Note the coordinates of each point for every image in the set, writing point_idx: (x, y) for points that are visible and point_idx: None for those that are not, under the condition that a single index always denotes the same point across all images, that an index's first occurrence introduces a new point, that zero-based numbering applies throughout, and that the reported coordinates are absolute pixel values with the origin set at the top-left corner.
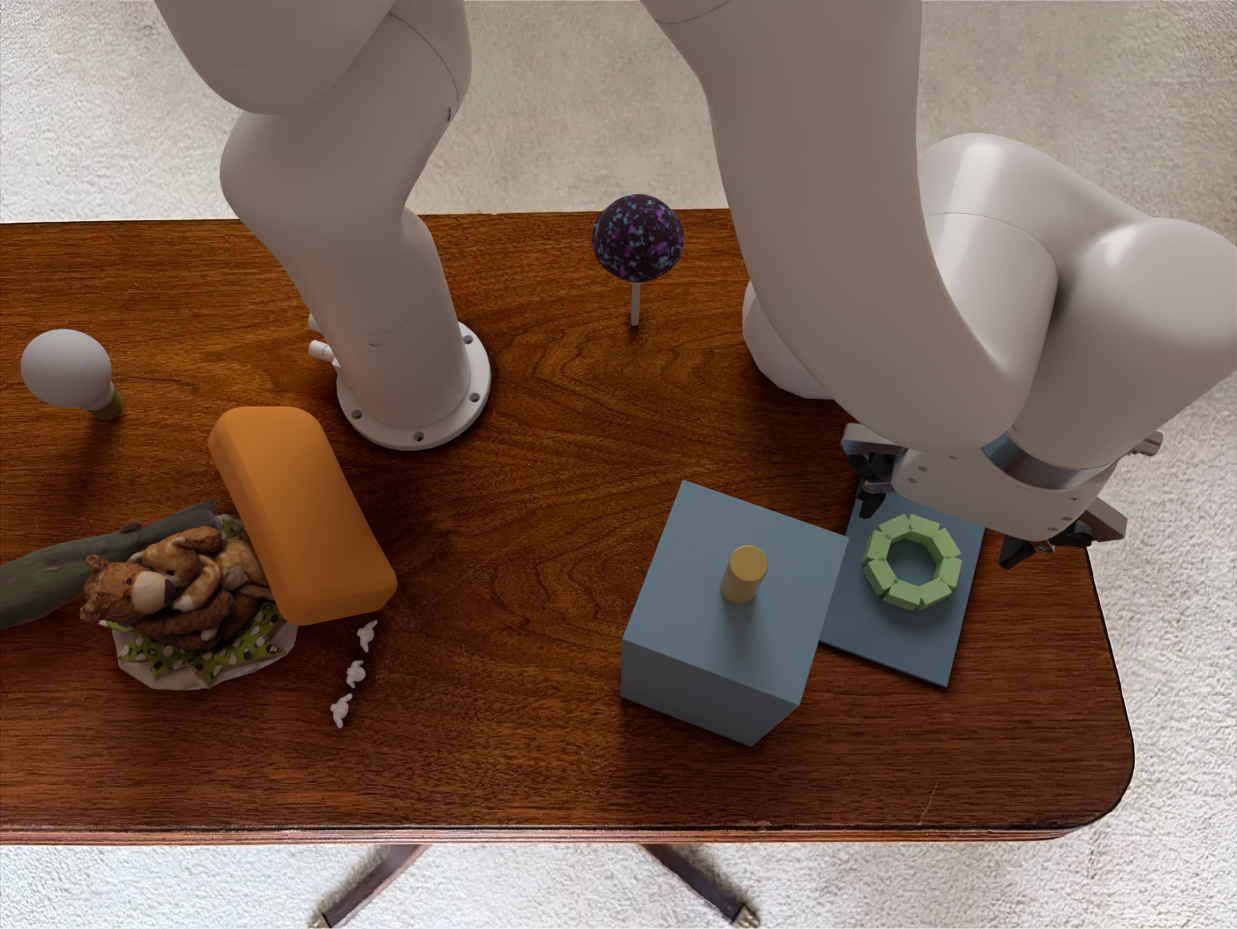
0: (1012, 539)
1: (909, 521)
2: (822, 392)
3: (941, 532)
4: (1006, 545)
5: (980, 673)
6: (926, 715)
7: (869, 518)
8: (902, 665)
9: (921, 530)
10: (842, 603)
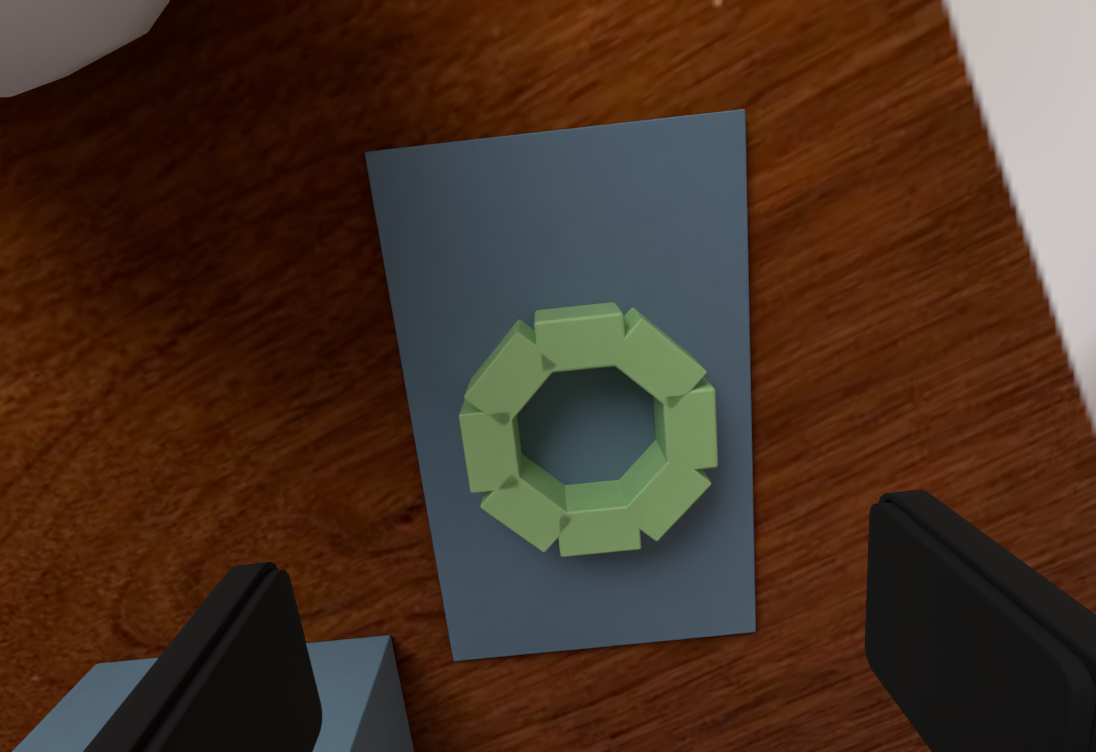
0: (936, 666)
1: (539, 346)
2: (32, 70)
3: (635, 337)
4: (898, 636)
5: (818, 565)
6: (729, 685)
7: (318, 733)
8: (651, 632)
9: (580, 357)
10: (476, 570)
